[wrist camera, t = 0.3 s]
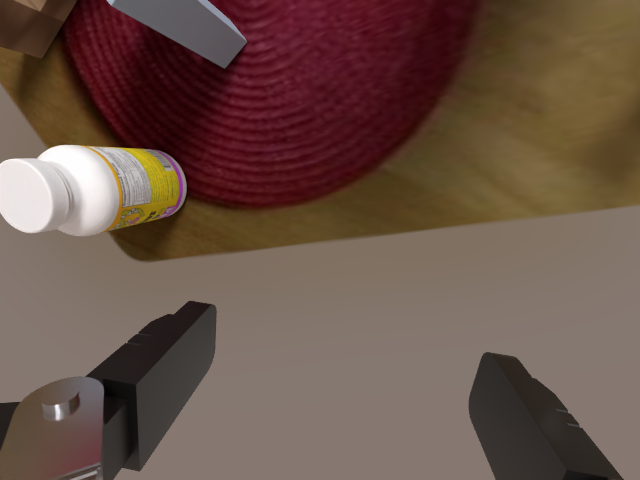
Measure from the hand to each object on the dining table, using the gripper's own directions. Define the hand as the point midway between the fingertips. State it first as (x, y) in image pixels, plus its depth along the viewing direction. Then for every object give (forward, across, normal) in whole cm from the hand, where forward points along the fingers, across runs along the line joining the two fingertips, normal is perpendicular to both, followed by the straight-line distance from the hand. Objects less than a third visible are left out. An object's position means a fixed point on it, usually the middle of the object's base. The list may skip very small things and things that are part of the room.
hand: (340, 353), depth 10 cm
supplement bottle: (+22, +19, 0) cm, 30 cm away
